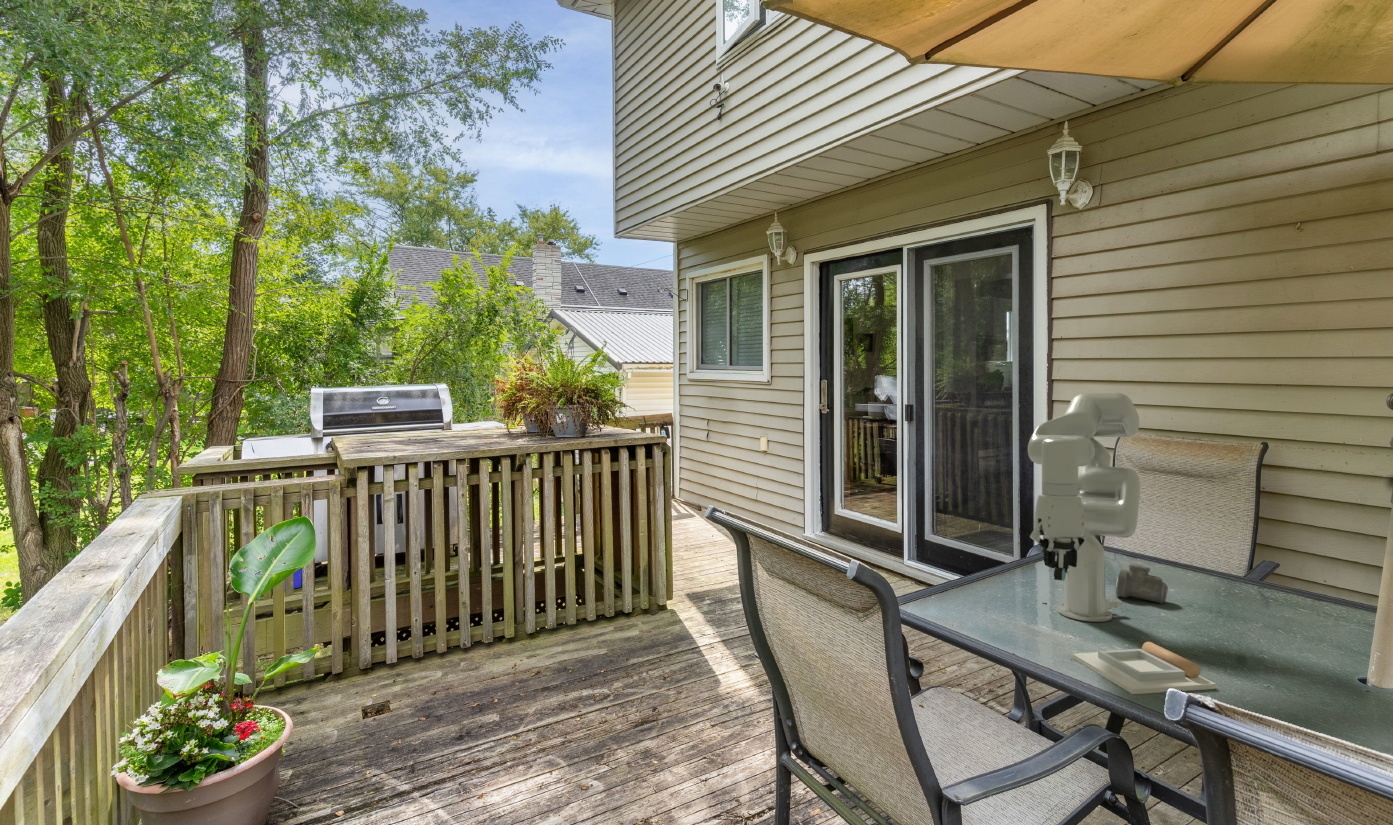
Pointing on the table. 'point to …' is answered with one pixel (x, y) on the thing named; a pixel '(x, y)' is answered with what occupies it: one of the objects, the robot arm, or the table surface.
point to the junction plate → (1146, 669)
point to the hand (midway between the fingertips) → (1060, 565)
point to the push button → (1062, 557)
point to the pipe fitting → (1140, 584)
